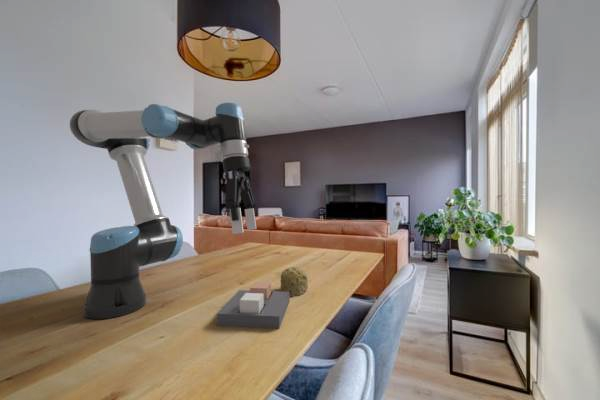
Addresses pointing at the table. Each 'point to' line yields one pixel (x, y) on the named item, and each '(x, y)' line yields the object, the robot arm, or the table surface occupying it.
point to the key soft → (252, 303)
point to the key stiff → (261, 289)
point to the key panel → (265, 319)
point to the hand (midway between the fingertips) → (245, 231)
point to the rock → (294, 281)
